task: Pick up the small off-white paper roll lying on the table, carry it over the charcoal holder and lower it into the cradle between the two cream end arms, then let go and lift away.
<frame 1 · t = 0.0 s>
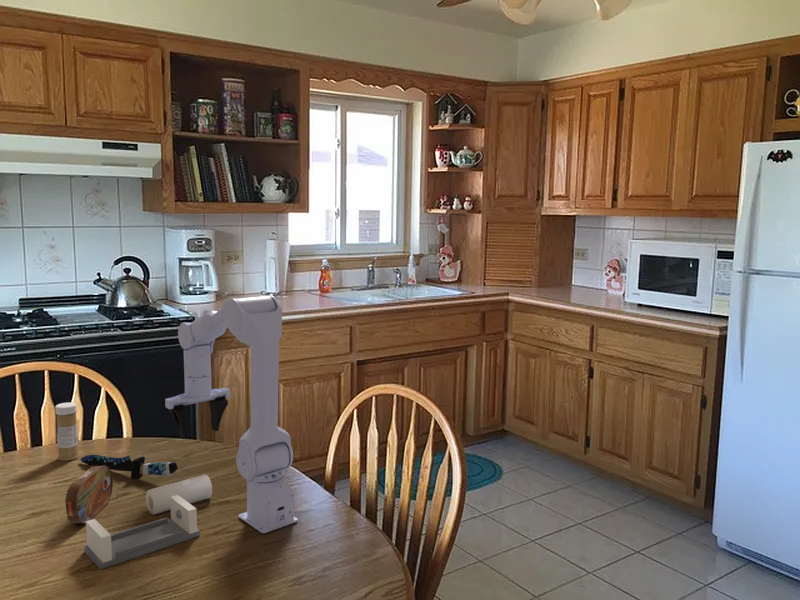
hand: (199, 433, 152), 10 cm above the table, tool pointing down, fingers open, 7 cm apart
tin: (90, 514, 135), on the table
holder: (143, 543, 123), on the table
knife: (127, 475, 155), on the table
sprinkles bottle: (68, 459, 164), on the table
roll: (179, 494, 139), point 2 cm above the table
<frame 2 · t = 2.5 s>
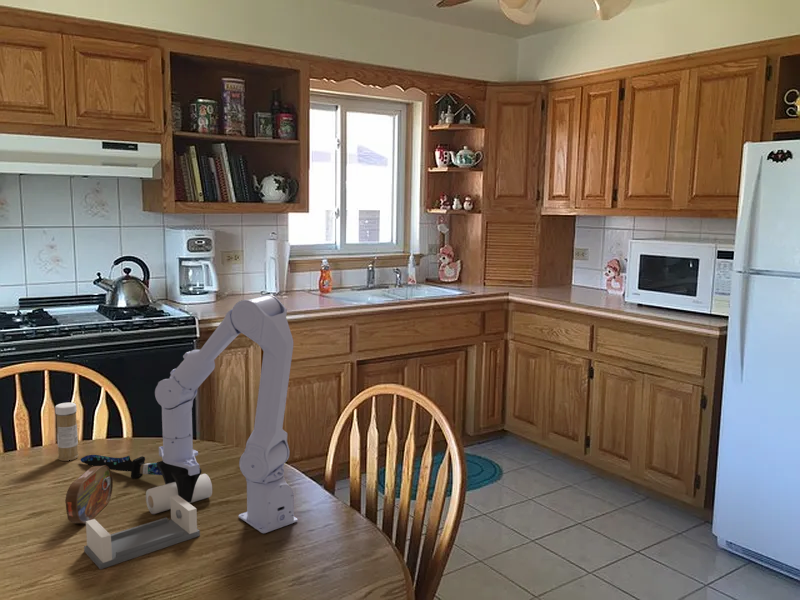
hand: (179, 498, 139), 1 cm above the table, tool pointing down, fingers closed on roll, 5 cm apart
roll: (179, 493, 139), point 2 cm above the table, touching gripper
everything else where it was.
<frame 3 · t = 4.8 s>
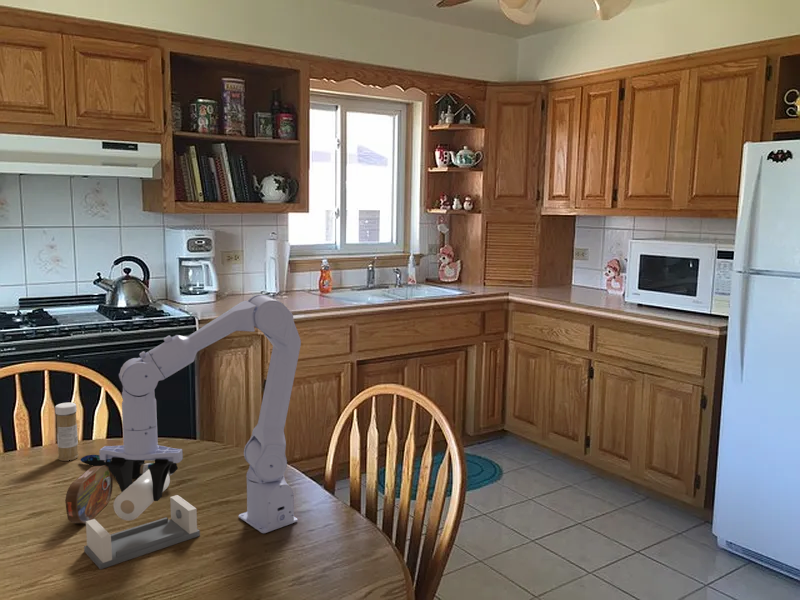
hand: (142, 498, 122), 8 cm above the table, tool pointing down, fingers closed on roll, 5 cm apart
roll: (143, 492, 122), point 9 cm above the table, touching gripper
everything else where it was.
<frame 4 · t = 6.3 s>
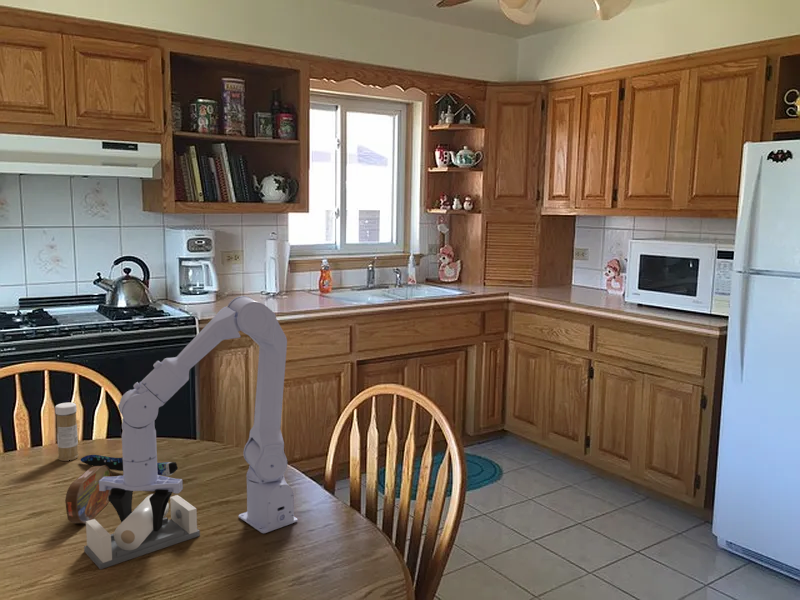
hand: (142, 528, 123), 3 cm above the table, tool pointing down, fingers closed on roll, 5 cm apart
roll: (142, 520, 123), point 4 cm above the table, touching gripper, holder
everything else where it was.
when the fingers open (3 cm above the table, at t = 7.1 s): roll stays where it is, resting on holder.
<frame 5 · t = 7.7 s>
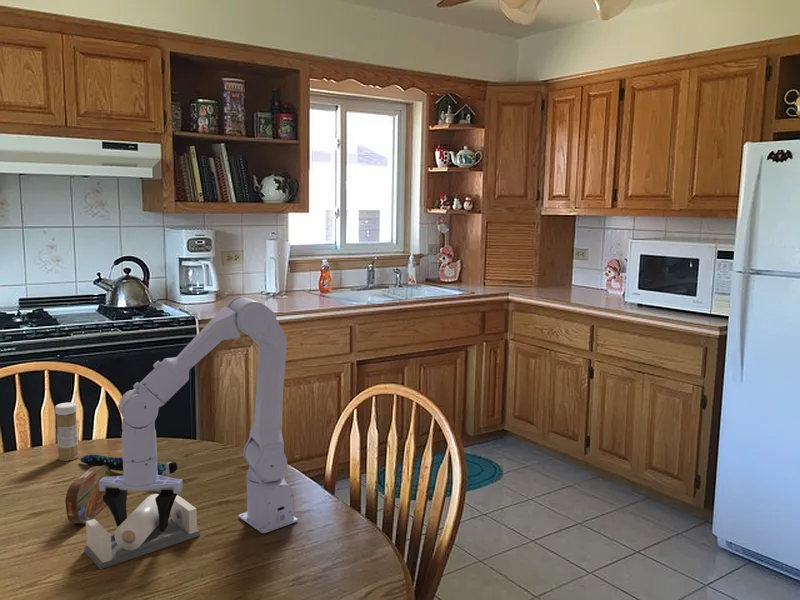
hand: (142, 528, 123), 3 cm above the table, tool pointing down, fingers open, 7 cm apart
roll: (143, 520, 123), point 4 cm above the table, touching holder
everything else where it was.
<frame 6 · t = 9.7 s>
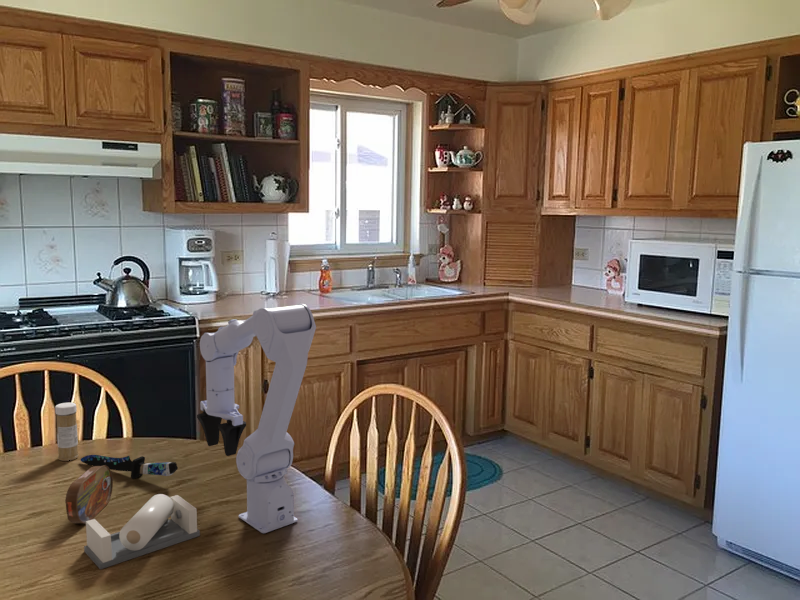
hand: (221, 449, 144), 9 cm above the table, tool pointing down, fingers open, 7 cm apart
roll: (148, 520, 122), point 4 cm above the table, tilted 23°, touching holder
everything else where it was.
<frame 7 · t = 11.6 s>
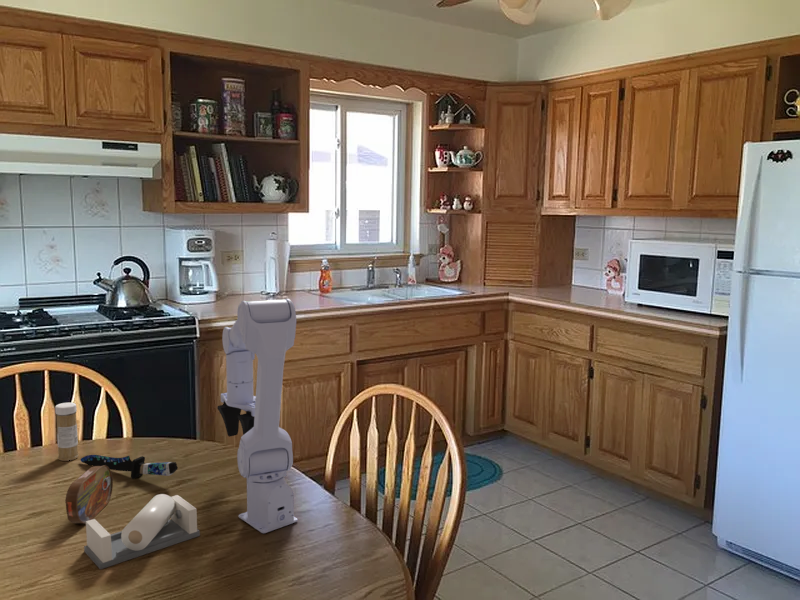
hand: (241, 439, 151), 9 cm above the table, tool pointing down, fingers open, 7 cm apart
roll: (149, 521, 122), point 4 cm above the table, tilted 30°, touching holder
everything else where it was.
at the end: roll 1.3 cm off-centre on the holder, point 4.3 cm above the holder's base; roll touching holder; the gripper is holding nothing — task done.
